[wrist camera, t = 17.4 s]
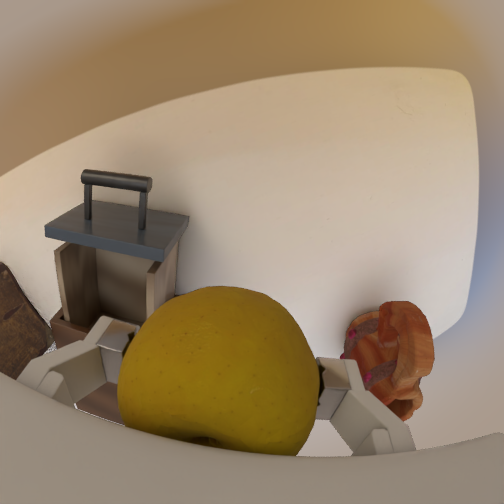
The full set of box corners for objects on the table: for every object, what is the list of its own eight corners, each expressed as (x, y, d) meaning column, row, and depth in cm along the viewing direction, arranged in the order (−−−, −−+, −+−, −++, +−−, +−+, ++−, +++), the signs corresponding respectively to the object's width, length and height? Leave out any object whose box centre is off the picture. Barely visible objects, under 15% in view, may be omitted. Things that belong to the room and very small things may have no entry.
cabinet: (91, 274, 37) (49, 320, 27) (187, 296, 37) (164, 355, 28) (103, 361, 44) (77, 408, 34) (182, 382, 44) (166, 437, 34)
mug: (383, 354, 40) (414, 435, 27) (332, 356, 41) (351, 444, 27) (411, 266, 34) (471, 342, 21) (352, 264, 35) (396, 349, 21)
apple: (337, 309, 13) (382, 478, 5) (241, 382, 15) (226, 524, 8) (222, 211, 11) (149, 374, 4) (137, 312, 13) (61, 454, 6)
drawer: (90, 158, 30) (42, 174, 21) (195, 171, 30) (169, 190, 22) (94, 308, 38) (65, 348, 30) (179, 329, 38) (161, 377, 30)
